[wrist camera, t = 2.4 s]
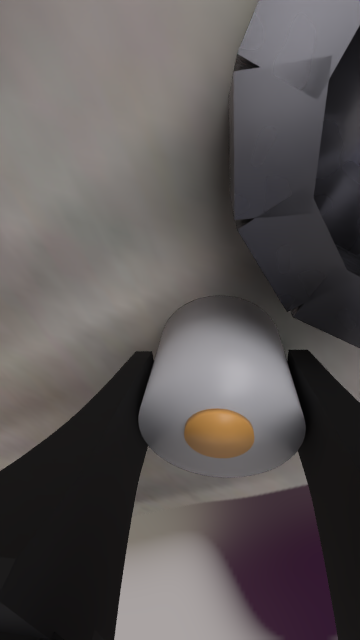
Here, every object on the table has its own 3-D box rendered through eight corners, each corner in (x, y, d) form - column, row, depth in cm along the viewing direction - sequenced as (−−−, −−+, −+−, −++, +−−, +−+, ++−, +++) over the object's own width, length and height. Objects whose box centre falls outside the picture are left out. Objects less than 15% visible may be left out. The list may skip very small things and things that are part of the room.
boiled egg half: (285, 292, 10) (320, 376, 7) (275, 390, 13) (297, 488, 9) (153, 298, 11) (121, 375, 7) (169, 389, 13) (150, 479, 10)
